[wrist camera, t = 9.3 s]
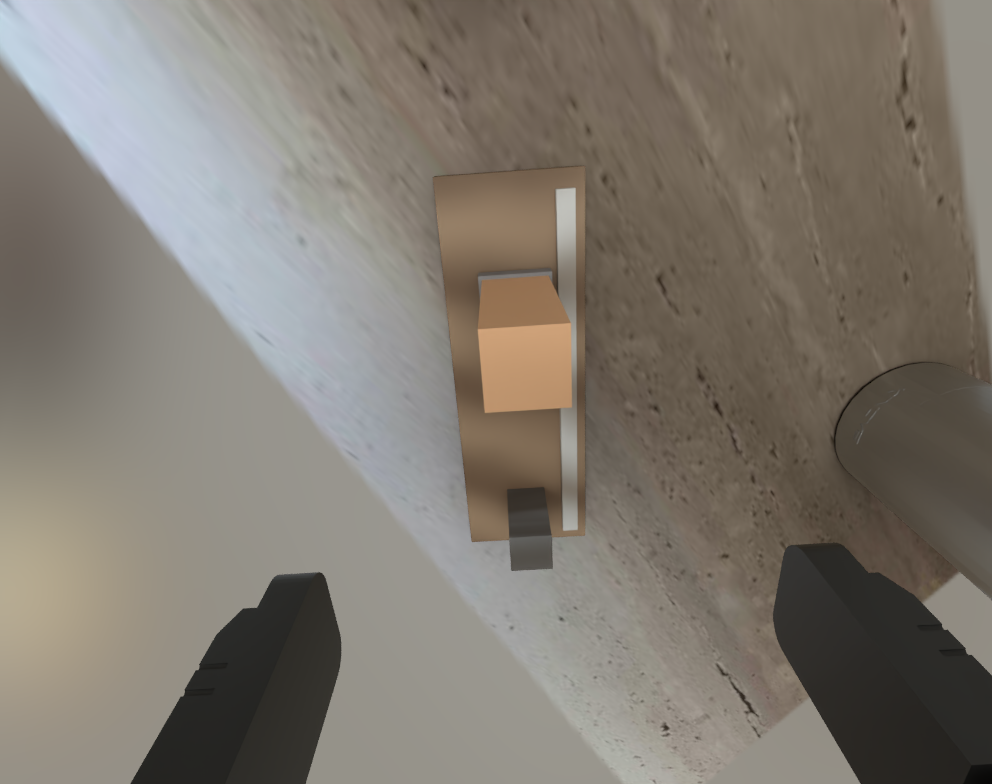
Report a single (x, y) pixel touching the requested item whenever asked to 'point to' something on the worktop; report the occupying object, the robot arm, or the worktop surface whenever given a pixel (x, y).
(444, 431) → the worktop surface
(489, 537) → the wooden slider board
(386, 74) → the worktop surface
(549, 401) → the block
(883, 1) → the worktop surface
